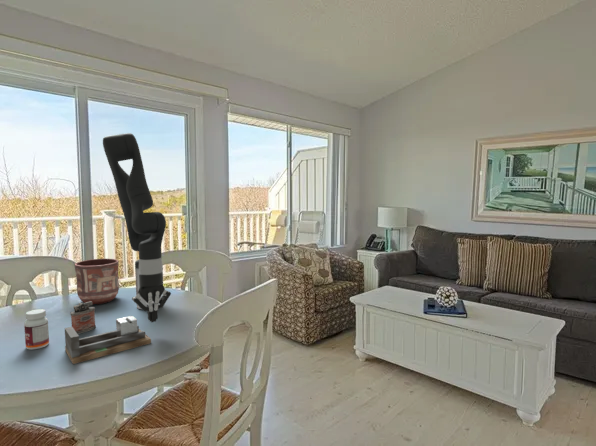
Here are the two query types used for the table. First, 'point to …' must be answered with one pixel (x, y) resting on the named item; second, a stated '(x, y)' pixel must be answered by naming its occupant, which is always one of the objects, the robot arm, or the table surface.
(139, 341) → the gauge track
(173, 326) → the table surface
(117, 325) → the gauge slider
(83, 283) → the pottery
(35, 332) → the pill bottle
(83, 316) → the lighter
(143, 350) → the table surface
